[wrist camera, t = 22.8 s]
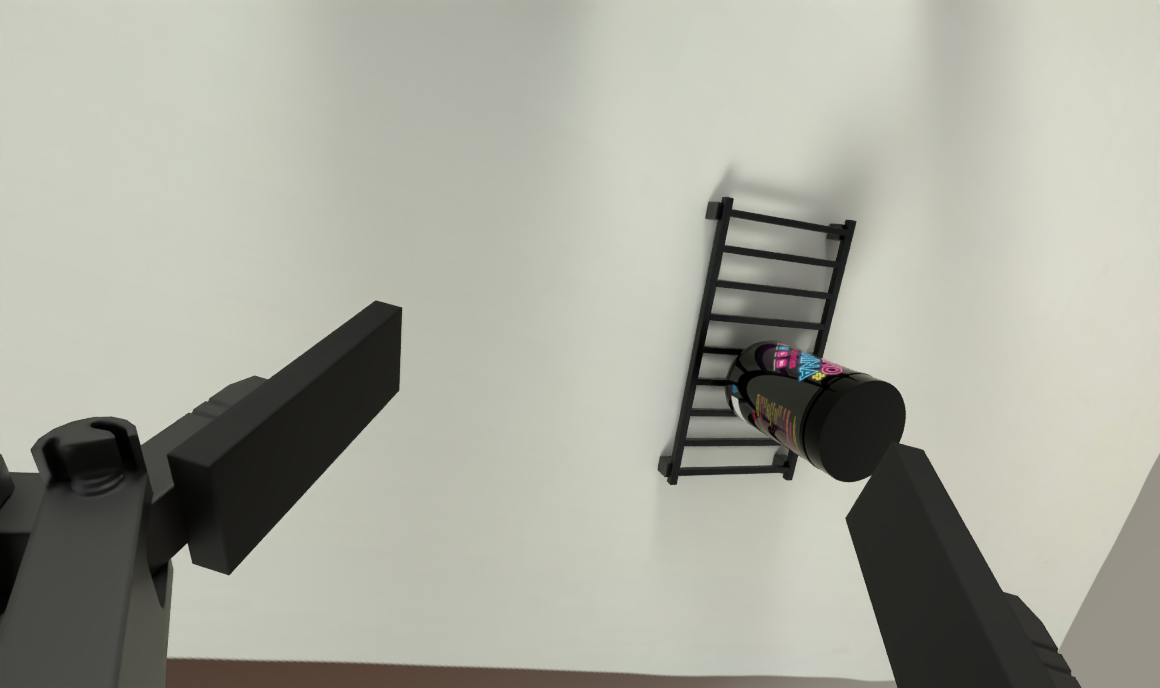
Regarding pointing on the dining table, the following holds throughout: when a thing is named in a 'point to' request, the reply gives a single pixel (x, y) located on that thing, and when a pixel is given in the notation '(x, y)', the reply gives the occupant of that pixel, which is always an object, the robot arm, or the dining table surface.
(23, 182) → the dining table surface
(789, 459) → the wire rack
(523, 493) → the dining table surface
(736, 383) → the supplement container
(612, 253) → the dining table surface
